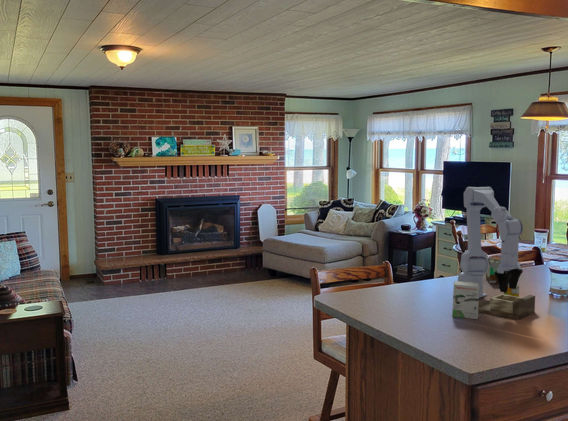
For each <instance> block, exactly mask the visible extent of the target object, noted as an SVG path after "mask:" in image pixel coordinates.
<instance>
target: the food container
mask: <svg viewBox="0 0 568 421" xmlns="http://www.w3.org/2000/svg"><path fill="white" fill-rule="evenodd" d="M487 259H488V262H489V269H488V271H487V272H485V280H486V281H487V282H488V284H491V285H493V284H494V285H495V284H498V280H497V278H496V276H495V272H496V271H497V267H499V266H500V264H501V259H497V258H491V257H487Z"/></svg>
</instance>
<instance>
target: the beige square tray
mask: <svg viewBox="0 0 568 421" xmlns="http://www.w3.org/2000/svg"><path fill="white" fill-rule="evenodd" d="M521 298H522V297H521V296H519V297H516V296H510V295H504V293H500V294H498V295H494V296H492V297H490V299H489V301H490V309H492V310H497V311H502V312H507V313H512V314H513V302H514V301H516V300H518V299H521Z"/></svg>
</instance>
